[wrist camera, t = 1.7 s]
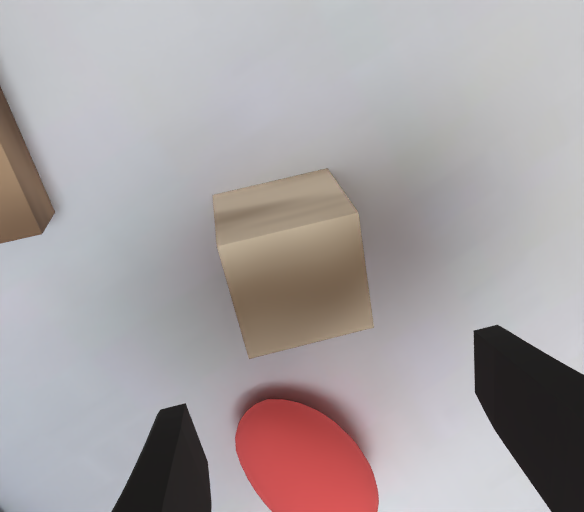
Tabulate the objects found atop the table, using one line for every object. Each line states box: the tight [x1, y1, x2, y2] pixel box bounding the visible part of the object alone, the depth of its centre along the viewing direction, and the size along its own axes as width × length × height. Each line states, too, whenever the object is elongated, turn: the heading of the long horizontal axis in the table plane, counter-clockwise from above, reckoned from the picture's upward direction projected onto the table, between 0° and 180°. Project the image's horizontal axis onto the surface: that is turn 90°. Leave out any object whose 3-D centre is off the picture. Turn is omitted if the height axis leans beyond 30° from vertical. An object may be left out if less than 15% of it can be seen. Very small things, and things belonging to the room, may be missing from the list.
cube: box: [213, 169, 374, 359], centre depth 20 cm, size 4×4×4 cm
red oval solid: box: [235, 399, 379, 512], centre depth 25 cm, size 5×9×6 cm, turn 17°
